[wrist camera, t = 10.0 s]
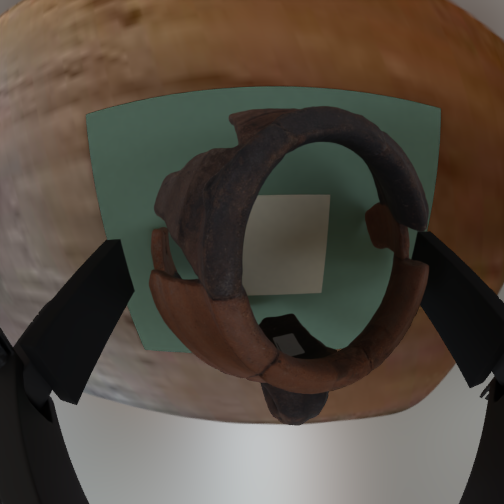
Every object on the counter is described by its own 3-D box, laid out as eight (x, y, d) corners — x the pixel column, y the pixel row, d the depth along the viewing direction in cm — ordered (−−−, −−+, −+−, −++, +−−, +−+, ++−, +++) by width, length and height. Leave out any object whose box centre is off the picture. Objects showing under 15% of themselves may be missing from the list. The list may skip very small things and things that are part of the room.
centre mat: (437, 108, 9) (442, 108, 9) (391, 338, 16) (393, 342, 15) (88, 114, 10) (84, 114, 9) (145, 346, 16) (144, 350, 16)
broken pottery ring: (123, 173, 11) (93, 97, 4) (300, 137, 14) (423, 91, 7) (198, 394, 14) (255, 510, 6) (337, 330, 17) (440, 383, 9)
